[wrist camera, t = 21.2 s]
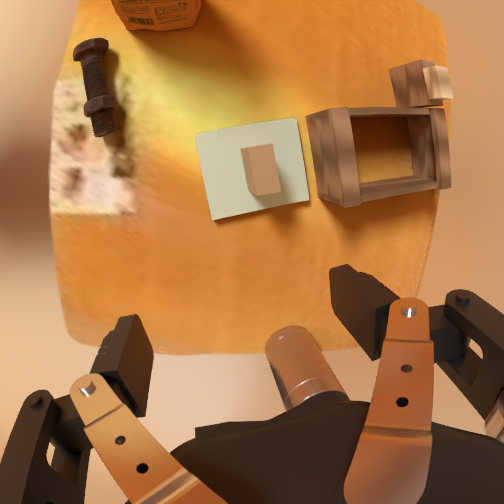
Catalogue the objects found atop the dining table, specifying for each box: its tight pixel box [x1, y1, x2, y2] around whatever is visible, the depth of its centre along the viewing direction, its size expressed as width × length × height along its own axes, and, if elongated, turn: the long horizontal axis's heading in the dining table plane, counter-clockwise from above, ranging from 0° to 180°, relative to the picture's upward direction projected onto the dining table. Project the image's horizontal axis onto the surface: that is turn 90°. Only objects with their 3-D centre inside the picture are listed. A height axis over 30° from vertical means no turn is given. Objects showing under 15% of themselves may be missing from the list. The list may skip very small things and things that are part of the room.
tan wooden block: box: [423, 66, 453, 100], centre depth 31 cm, size 5×3×3 cm, turn 11°
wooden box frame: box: [306, 59, 451, 208], centre depth 38 cm, size 21×21×9 cm
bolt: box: [73, 38, 116, 137], centre depth 32 cm, size 6×5×15 cm
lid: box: [194, 118, 309, 220], centre depth 38 cm, size 13×15×9 cm
